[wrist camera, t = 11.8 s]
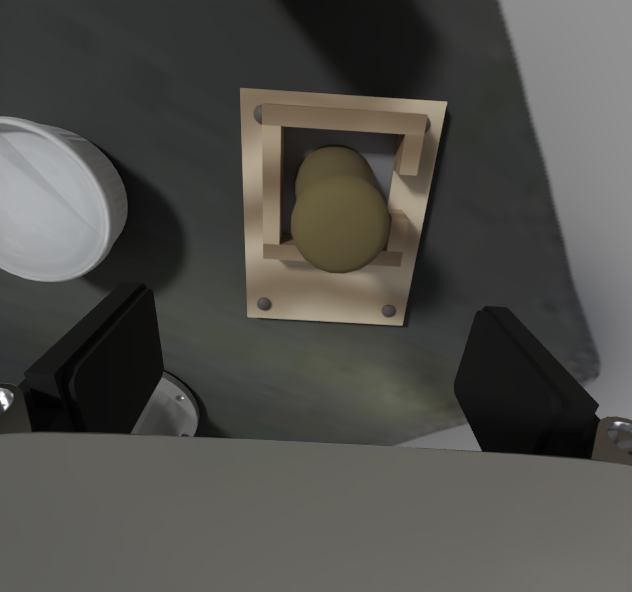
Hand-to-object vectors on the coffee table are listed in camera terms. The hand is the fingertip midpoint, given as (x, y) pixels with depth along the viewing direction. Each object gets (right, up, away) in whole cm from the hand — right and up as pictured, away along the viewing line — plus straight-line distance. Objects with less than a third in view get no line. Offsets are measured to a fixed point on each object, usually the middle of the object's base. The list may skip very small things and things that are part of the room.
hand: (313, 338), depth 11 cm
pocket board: (+1, +7, +19) cm, 21 cm away
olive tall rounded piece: (+1, +10, +17) cm, 20 cm away
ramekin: (-19, +10, +19) cm, 29 cm away
